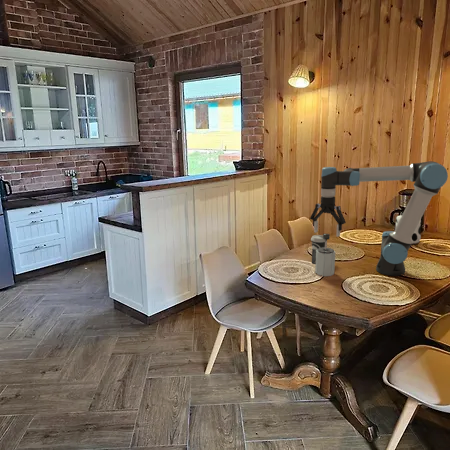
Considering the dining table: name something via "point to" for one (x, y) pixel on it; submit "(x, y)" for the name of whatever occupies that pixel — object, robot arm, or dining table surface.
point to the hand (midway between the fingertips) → (326, 234)
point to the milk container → (416, 234)
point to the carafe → (324, 261)
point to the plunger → (326, 236)
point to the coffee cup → (317, 242)
